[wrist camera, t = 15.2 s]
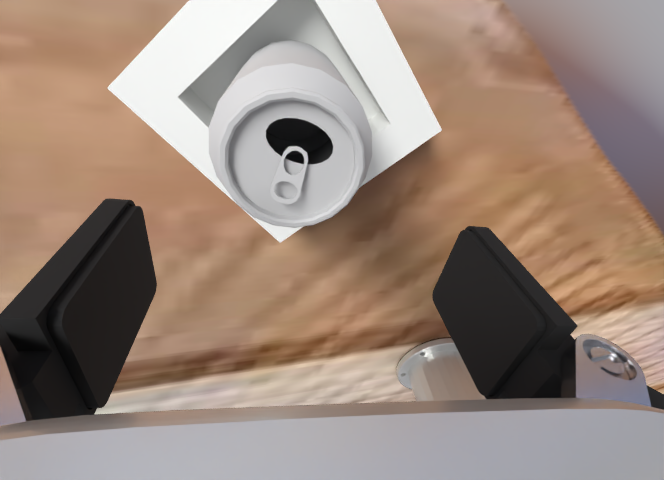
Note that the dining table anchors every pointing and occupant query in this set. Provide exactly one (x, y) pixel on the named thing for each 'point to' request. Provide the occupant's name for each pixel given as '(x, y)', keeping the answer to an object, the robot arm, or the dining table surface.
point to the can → (290, 137)
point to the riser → (241, 43)
